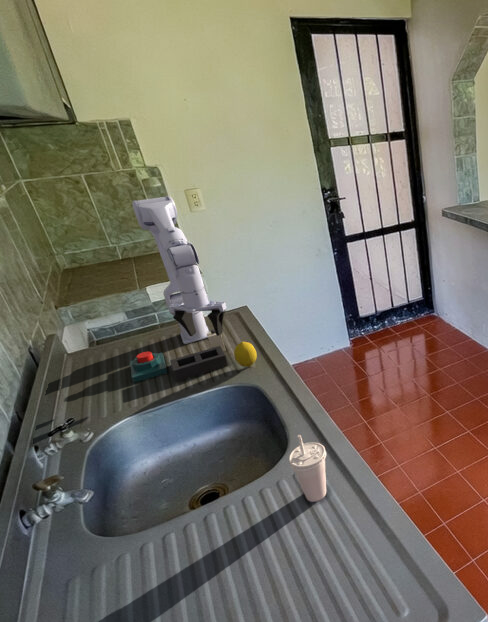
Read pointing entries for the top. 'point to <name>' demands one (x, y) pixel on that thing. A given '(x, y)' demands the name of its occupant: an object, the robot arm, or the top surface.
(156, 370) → the switch block
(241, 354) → the lemon
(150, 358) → the power button
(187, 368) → the dark grey slotted block
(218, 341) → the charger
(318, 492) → the smoothie
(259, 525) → the top surface
